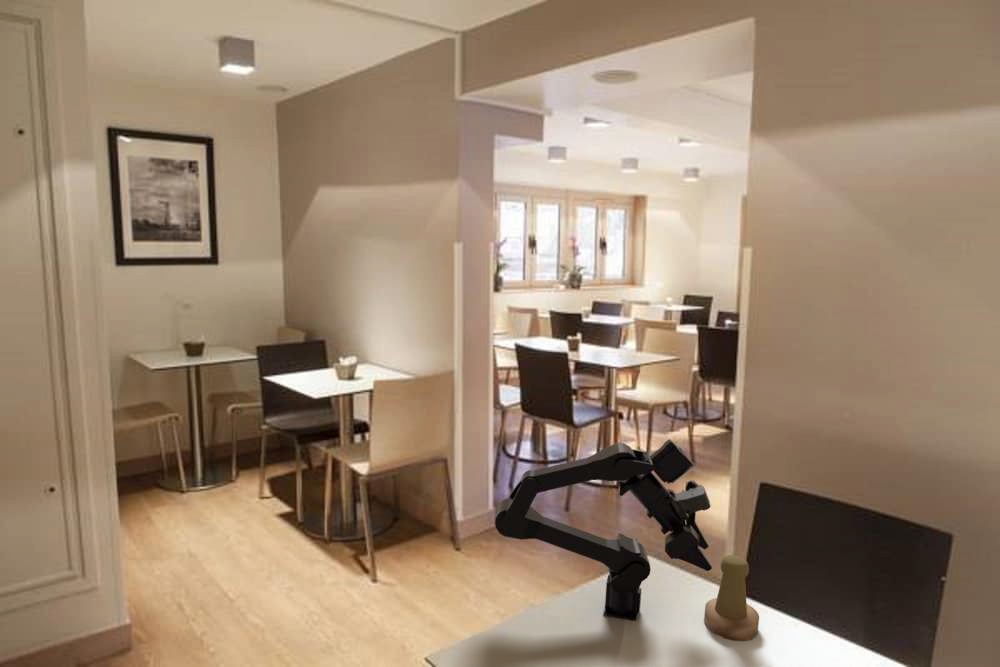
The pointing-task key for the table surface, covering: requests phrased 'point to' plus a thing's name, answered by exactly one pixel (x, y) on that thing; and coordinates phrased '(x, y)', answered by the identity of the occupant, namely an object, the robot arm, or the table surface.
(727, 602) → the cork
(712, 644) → the table surface
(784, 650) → the table surface
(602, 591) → the table surface
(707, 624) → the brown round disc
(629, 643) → the table surface
